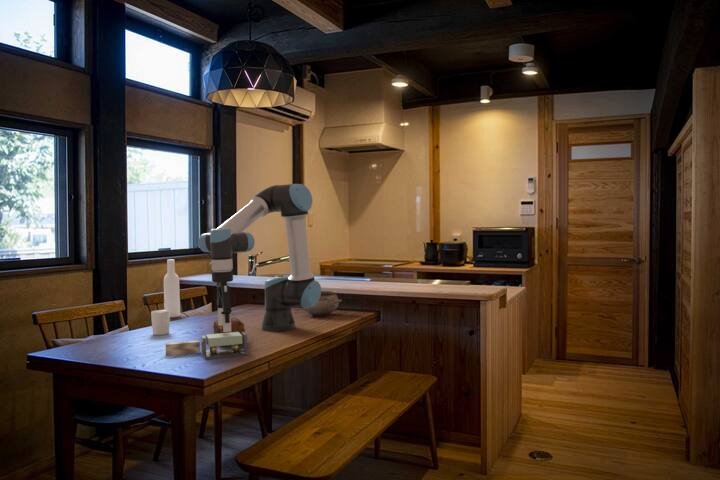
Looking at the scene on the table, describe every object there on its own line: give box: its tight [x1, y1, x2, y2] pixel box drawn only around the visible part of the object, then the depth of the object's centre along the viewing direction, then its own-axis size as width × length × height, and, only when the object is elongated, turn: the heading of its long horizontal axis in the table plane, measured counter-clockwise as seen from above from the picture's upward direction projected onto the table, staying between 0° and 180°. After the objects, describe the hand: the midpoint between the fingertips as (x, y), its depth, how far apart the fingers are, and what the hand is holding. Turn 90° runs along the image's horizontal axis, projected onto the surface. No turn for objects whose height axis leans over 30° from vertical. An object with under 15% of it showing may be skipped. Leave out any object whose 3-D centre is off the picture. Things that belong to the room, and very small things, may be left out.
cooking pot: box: [302, 289, 343, 318], centre depth 298 cm, size 25×19×12 cm
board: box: [205, 332, 242, 348], centre depth 213 cm, size 12×8×3 cm, turn 111°
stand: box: [165, 340, 201, 357], centre depth 216 cm, size 12×3×4 cm, turn 111°
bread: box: [212, 316, 246, 347], centre depth 235 cm, size 19×11×10 cm, turn 20°
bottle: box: [163, 258, 181, 318], centre depth 305 cm, size 8×8×30 cm
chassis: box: [200, 331, 249, 361], centre depth 213 cm, size 16×12×7 cm
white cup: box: [150, 309, 171, 336], centre depth 257 cm, size 8×8×10 cm
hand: (224, 328), depth 213 cm, fingers open, 13 cm apart
